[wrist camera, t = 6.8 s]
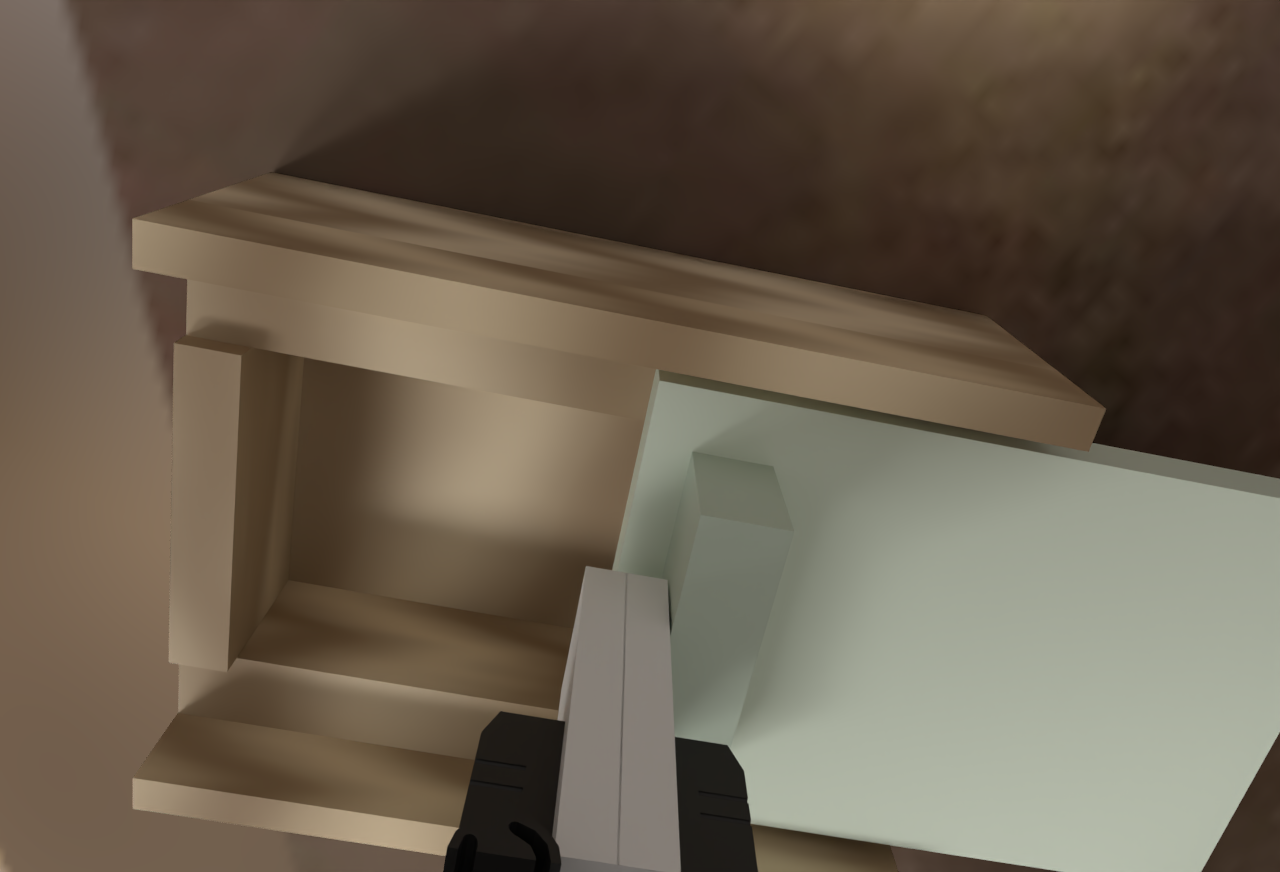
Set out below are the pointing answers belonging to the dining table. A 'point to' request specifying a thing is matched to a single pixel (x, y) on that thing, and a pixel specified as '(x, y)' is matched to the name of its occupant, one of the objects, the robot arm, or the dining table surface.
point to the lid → (960, 627)
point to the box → (460, 478)
